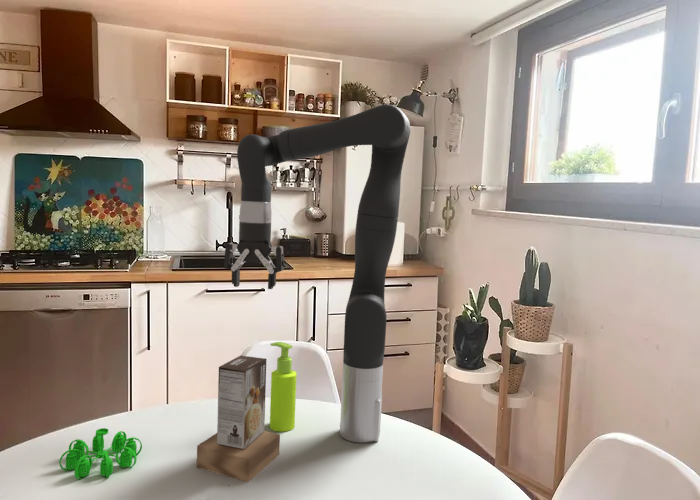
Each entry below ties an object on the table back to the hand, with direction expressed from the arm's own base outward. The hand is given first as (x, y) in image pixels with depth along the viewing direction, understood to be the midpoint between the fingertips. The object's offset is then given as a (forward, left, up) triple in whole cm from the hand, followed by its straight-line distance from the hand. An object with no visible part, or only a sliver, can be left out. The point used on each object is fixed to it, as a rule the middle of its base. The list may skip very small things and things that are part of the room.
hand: (253, 287), depth 129 cm
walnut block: (-5, +22, -33) cm, 40 cm away
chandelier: (+21, +29, -33) cm, 48 cm away
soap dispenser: (-9, +4, -32) cm, 34 cm away
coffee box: (-5, +22, -28) cm, 35 cm away
